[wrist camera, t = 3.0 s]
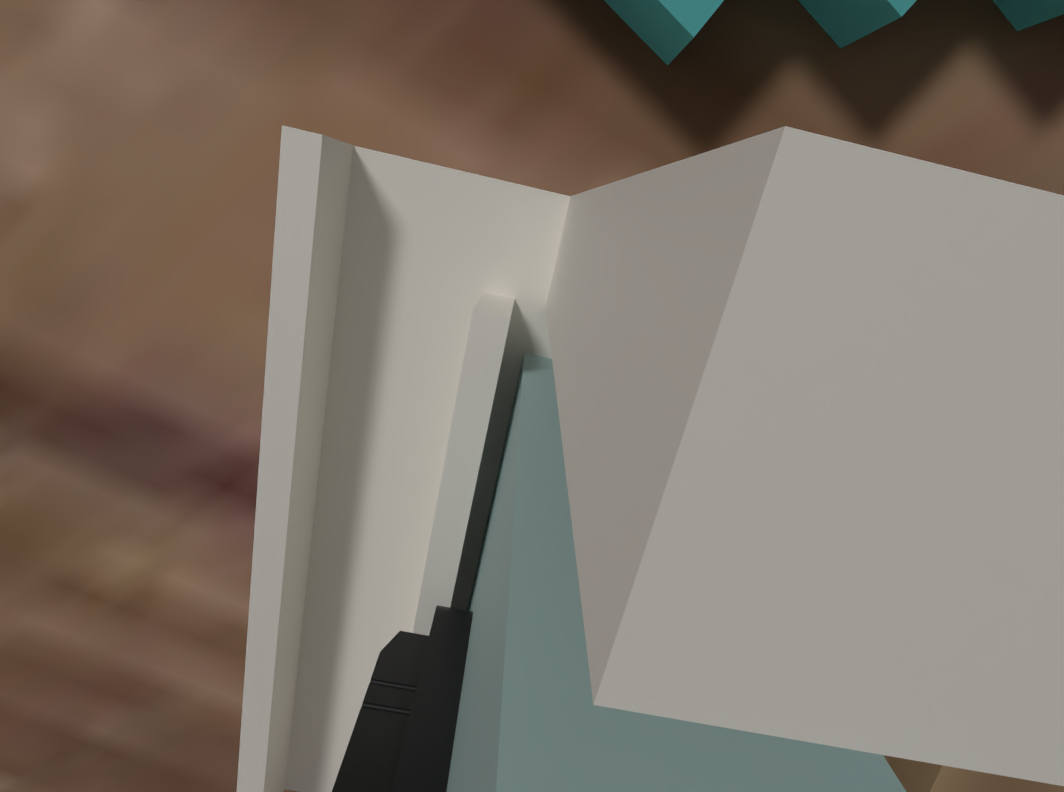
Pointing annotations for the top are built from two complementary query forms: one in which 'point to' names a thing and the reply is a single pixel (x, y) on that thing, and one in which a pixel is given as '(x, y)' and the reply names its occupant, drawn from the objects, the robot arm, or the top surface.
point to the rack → (677, 441)
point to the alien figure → (835, 3)
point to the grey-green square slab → (586, 662)
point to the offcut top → (959, 779)
